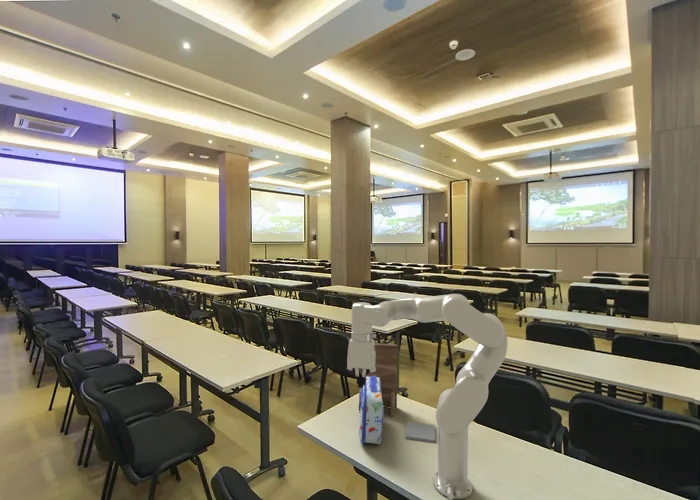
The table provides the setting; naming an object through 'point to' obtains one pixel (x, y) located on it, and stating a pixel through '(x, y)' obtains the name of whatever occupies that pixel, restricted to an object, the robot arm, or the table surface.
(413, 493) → the table surface
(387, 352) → the display stand
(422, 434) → the notebook
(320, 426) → the table surface
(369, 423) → the lunch box
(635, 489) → the table surface
